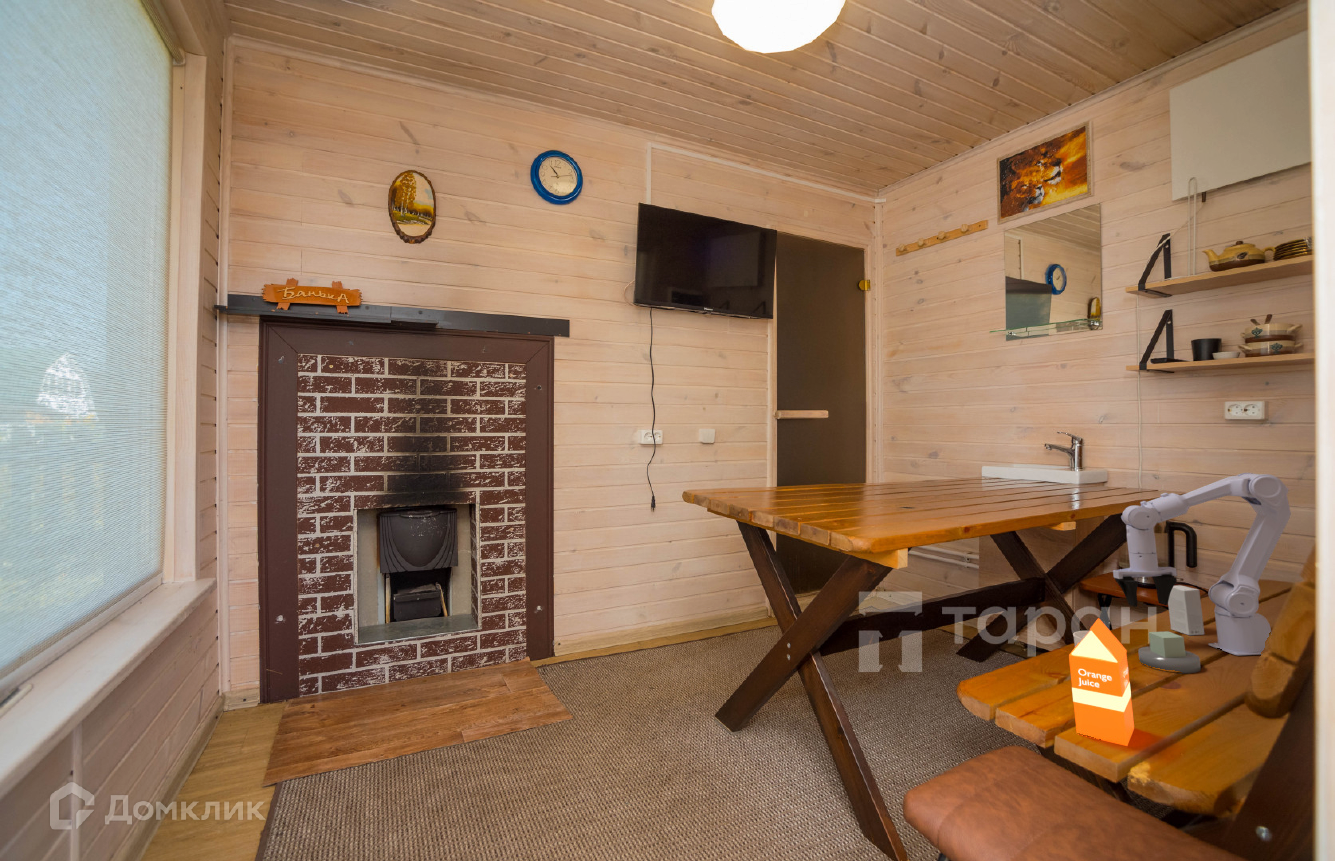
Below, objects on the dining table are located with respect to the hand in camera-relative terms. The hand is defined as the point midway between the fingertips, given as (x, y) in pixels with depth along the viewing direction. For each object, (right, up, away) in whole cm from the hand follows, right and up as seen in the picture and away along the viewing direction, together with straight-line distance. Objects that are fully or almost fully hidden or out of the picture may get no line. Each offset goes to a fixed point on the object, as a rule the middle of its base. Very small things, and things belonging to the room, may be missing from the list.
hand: (1148, 605), depth 150 cm
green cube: (-6, -8, -13) cm, 16 cm away
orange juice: (-42, -11, -42) cm, 60 cm away
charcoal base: (-6, -10, -13) cm, 18 cm away
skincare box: (+17, -10, +8) cm, 21 cm away
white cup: (-27, -12, -19) cm, 35 cm away
